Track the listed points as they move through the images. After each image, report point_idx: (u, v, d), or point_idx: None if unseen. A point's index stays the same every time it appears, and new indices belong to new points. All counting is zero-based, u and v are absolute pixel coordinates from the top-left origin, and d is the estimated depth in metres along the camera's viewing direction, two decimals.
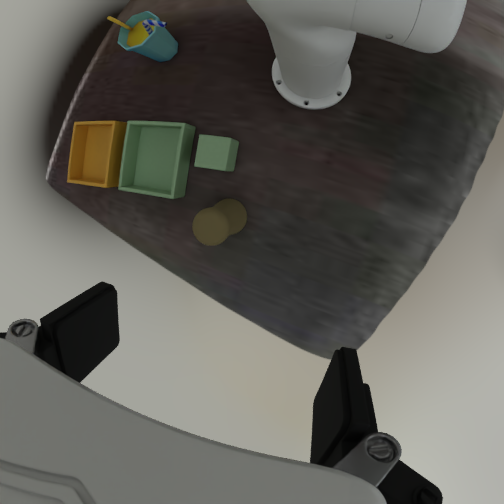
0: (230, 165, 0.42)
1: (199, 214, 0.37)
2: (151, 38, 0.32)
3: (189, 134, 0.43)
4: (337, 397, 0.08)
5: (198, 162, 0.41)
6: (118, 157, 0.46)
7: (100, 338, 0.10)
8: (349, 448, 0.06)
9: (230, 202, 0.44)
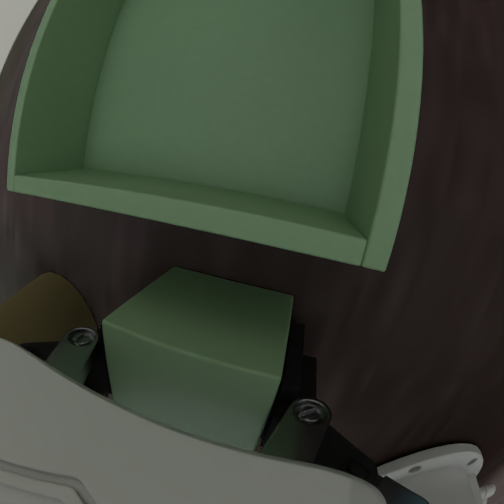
0: None
1: None
2: None
3: None
4: None
5: (121, 346, 0.07)
6: None
7: None
8: (283, 410, 0.07)
9: None
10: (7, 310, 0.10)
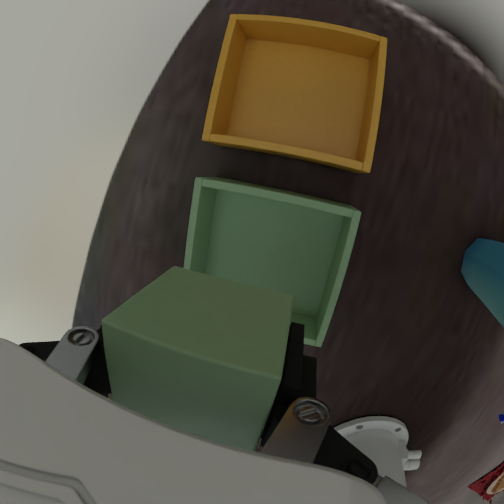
0: None
1: None
2: None
3: None
4: None
5: (120, 346, 0.07)
6: (279, 154, 0.21)
7: None
8: (282, 411, 0.07)
9: None
10: None
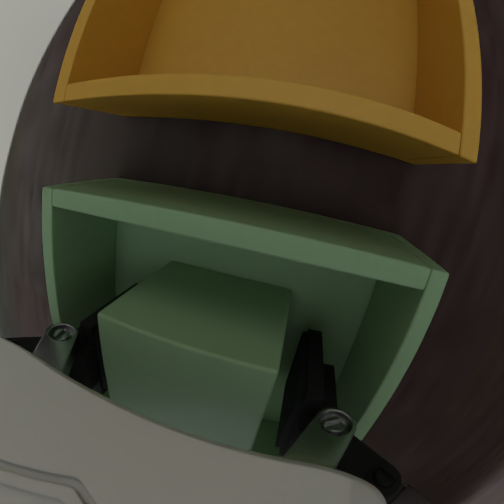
0: None
1: None
2: None
3: None
4: (298, 374, 0.08)
5: (116, 339, 0.07)
6: (233, 116, 0.08)
7: None
8: (305, 421, 0.07)
9: None
10: None
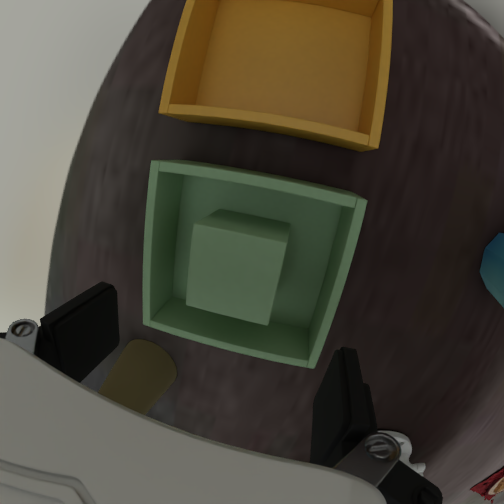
0: None
1: None
2: None
3: None
4: (337, 397, 0.08)
5: (203, 236, 0.15)
6: (259, 128, 0.16)
7: (100, 338, 0.10)
8: (349, 448, 0.06)
9: (165, 388, 0.24)
10: (128, 370, 0.21)
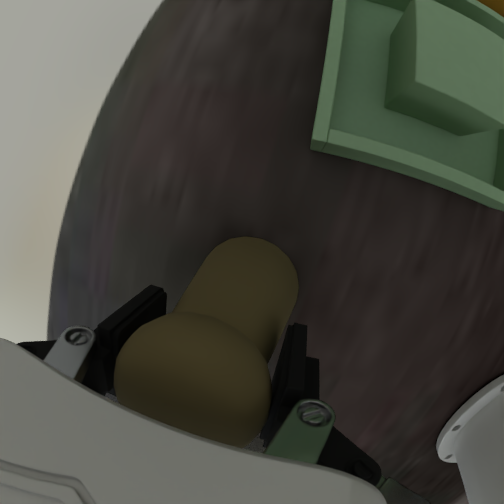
0: (416, 101, 0.10)
1: (235, 398, 0.07)
2: None
3: (492, 204, 0.11)
4: (281, 366, 0.09)
5: (429, 6, 0.06)
6: None
7: None
8: (286, 412, 0.07)
9: (287, 319, 0.15)
10: (238, 269, 0.13)
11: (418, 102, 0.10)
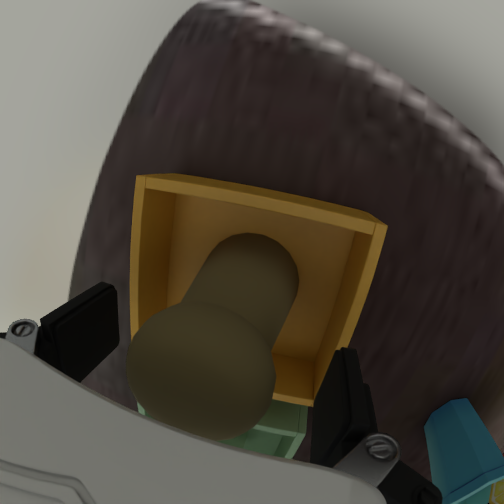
0: None
1: (243, 379, 0.07)
2: None
3: None
4: (337, 397, 0.08)
5: None
6: None
7: (100, 338, 0.10)
8: (349, 447, 0.06)
9: None
10: (241, 263, 0.13)
11: None
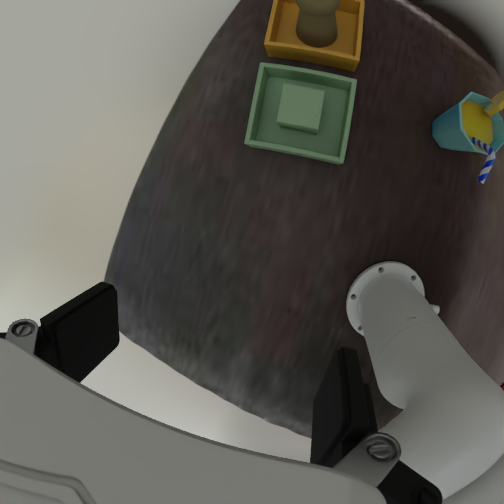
0: (285, 125, 0.33)
1: None
2: (466, 141, 0.23)
3: (329, 161, 0.34)
4: (337, 397, 0.08)
5: (288, 88, 0.29)
6: (307, 57, 0.31)
7: (100, 338, 0.10)
8: (349, 447, 0.06)
9: (336, 30, 0.28)
10: None
11: (286, 125, 0.33)
